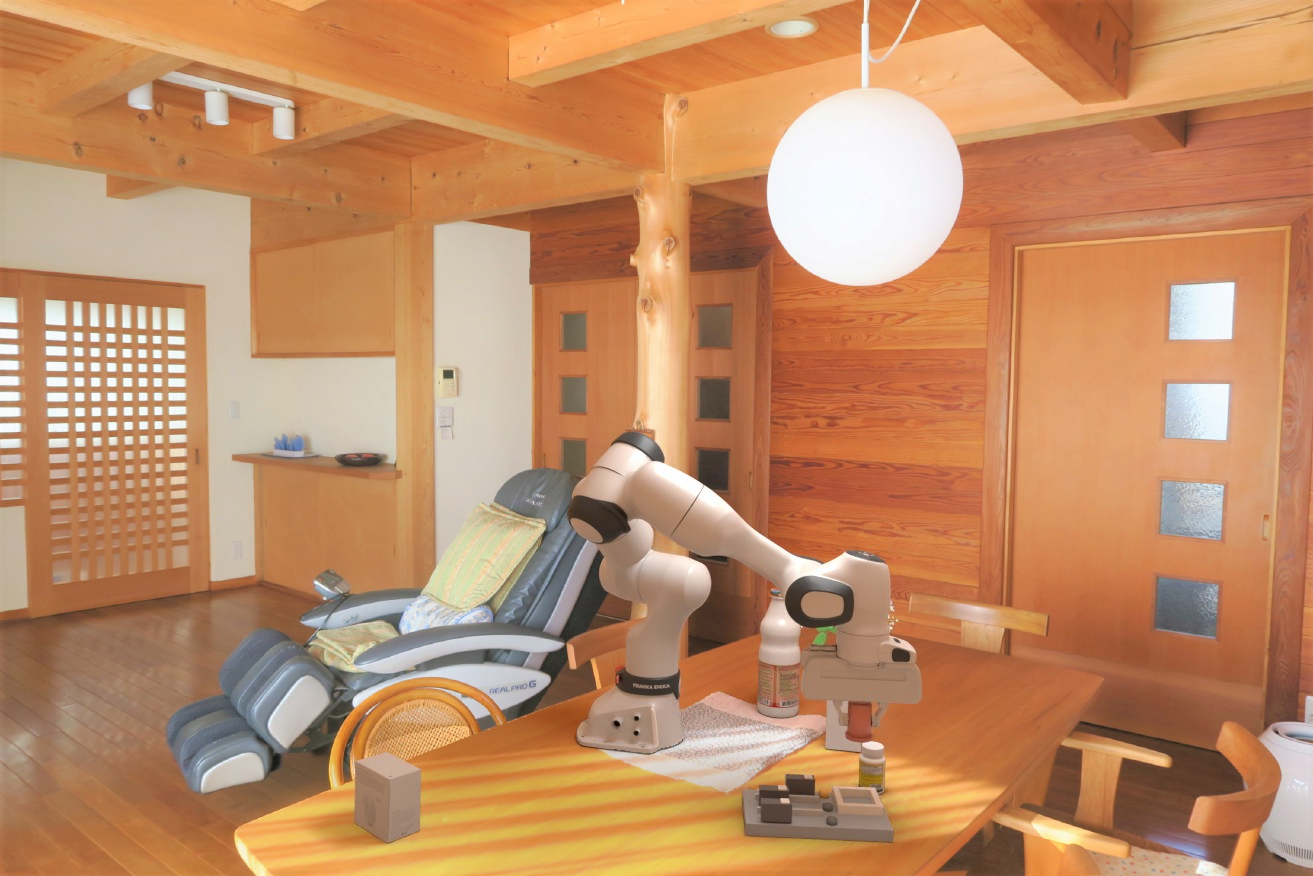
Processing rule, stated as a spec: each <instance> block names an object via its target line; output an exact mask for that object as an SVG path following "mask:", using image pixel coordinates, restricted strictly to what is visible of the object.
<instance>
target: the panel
mask: <svg viewBox="0 0 1313 876" xmlns="http://www.w3.org/2000/svg"><path fill="white" fill-rule="evenodd" d="M741 795H742V796H741V797H742V799H741V800H742V802H741V803H742V811H743V820H744V821H743V822H744V832H745V836H748V837H749V836H752V837H767V838H769V837H770V838H788V839H789V838H793V839H810V840H811V839H812V840H813V839H814V840H815V839H816V840H834V841H835V840H836V841H837V840H839V841H858V842H876V843H894V828H893V826H892V823H891V822H890V818H889V817H888V814H887V811H886V809H885V807H884V805H883V802H882V799H881V797H880V794H879V795H878V793H877V791H876V789H875V788H872V787H859V786H843V785H842V786H841V785H832V786H831V792H830V791H829V790H827V789H823V788H822V789H819V790H818V791H815V796H809V795H789V799H791V801H792V823H791V822H769V821H761V816H760V811H761V806H759V788H758V789H754V788H752V789H751V788H742V794H741Z"/></svg>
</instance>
